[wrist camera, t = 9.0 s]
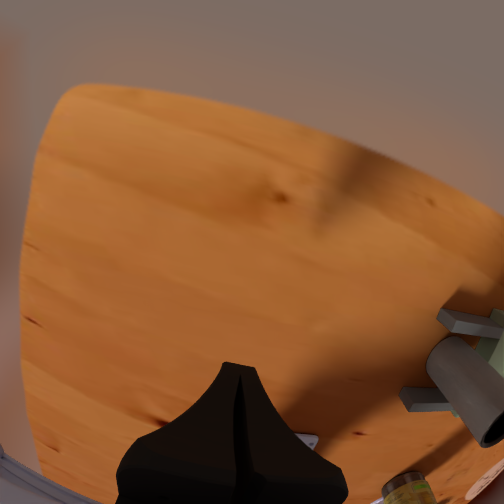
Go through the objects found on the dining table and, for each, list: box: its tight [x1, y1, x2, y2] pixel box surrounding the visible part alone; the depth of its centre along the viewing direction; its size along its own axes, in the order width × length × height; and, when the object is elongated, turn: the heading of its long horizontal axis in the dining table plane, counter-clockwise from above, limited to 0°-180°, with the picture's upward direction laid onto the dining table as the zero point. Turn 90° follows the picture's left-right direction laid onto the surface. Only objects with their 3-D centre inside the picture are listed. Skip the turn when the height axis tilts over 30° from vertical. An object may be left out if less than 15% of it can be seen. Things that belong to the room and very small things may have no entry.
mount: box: [399, 308, 504, 417], centre depth 22 cm, size 11×12×2 cm
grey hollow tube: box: [426, 336, 504, 448], centre depth 18 cm, size 4×4×10 cm
